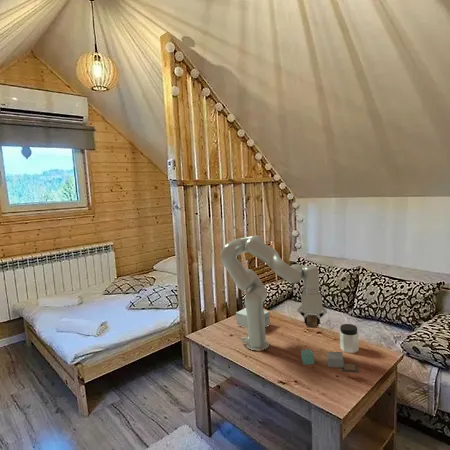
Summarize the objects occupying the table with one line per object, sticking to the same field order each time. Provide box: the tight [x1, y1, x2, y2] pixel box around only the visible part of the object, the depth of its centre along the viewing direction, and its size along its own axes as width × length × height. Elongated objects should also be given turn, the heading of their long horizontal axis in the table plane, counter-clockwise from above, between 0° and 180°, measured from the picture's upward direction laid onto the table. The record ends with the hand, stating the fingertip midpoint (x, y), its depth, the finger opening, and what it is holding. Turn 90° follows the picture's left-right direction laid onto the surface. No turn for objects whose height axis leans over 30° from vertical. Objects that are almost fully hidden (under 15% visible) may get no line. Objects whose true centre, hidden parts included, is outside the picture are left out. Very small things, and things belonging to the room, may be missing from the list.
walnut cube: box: [306, 313, 318, 329], centre depth 167 cm, size 5×5×5 cm
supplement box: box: [235, 307, 271, 328], centre depth 206 cm, size 17×13×9 cm
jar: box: [339, 323, 360, 354], centre depth 169 cm, size 9×8×12 cm
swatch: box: [341, 362, 360, 373], centre depth 152 cm, size 7×7×1 cm
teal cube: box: [300, 349, 315, 365], centre depth 160 cm, size 5×5×5 cm
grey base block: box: [326, 351, 345, 368], centre depth 157 cm, size 7×7×4 cm
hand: (312, 324), depth 168 cm, fingers closed on walnut cube, 5 cm apart
